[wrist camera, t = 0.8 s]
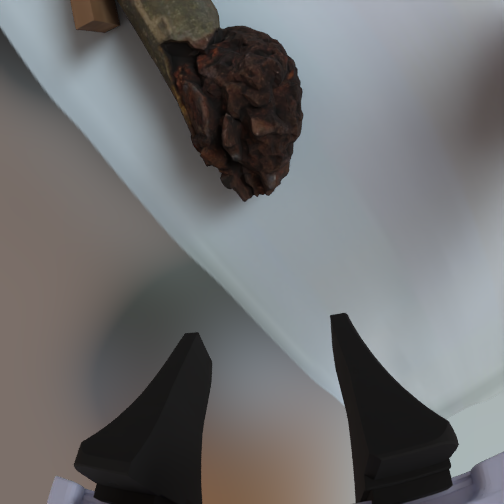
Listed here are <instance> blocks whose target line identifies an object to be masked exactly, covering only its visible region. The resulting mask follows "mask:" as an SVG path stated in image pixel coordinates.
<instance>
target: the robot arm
mask: <svg viewBox="0 0 504 504" xmlns="http://www.w3.org/2000/svg"><path fill="white" fill-rule="evenodd" d="M330 319H331V333H332V348H333V354H334V361H335V368H336V372H337V376H338V380H339V384H340V388H341V392H342V396H343V400H344V404H345V408H346V412H347V418H348V423H349V431H350V440H351V449H352V459H353V469H354V481H355V496H356V503H355V504H504V452H502V453H500V454H497V455H495V456H493V457H491V458H489V459H486V460H484V461H482V462H480V463H478V464H477V465H475V466H474V467H473V468H472V469H471V471H469V472H466V473H464V474H461V475H458V476H456V477H453V478H451V475H450V471H449V469H450V468H451V463H450V460H449V458H450V457H451V456H452V454H453V453H454V451H456V449H457V447H458V445H459V444H458V440H457V437H456V434H455V432H454V430H453V428H452V426H451V425H450V423H449V421H447V420H446V419H444V418H443V417H441V416H439V415H438V414H436V413H435V412H433V411H432V410H430V409H429V408H428V407H426V406H425V405H424V404H422V403H421V402H420V401H419V400H417V399H416V398H415V397H414V396H413V395H411V394H410V393H409V392H408V391H407V390H405V389H404V388H403V387H402V386H401V385H400V384H399V383H398V382H397V381H396V380H395V379H394V378H393V377H392V376H391V375H390V374H389V373H388V372H387V371H386V369H385V368H384V367H383V366H382V365H381V364H380V362H379V361H378V360H377V359H376V358H375V356H374V355H373V354H372V352H371V351H370V350H369V348H368V347H367V346H366V344H365V343H364V342H363V340H362V339H361V337H360V336H359V334H358V332H357V331H356V329H355V328H354V326H353V324H352V322H351V320H350V319H349V317H348V314H346V313H341V314H335V315H330ZM211 377H212V361H211V359H210V357H209V354H208V352H207V350H206V348H205V346H204V344H203V342H202V340H201V337H200V335H199V333H198V332H196V333H185V334H184V336H183V337H182V339H181V340H180V342H179V343H178V345H177V346H176V348H175V349H174V351H173V352H172V354H171V355H170V357H169V358H168V360H167V361H166V362H165V364H164V365H163V367H162V368H161V370H160V371H159V372H158V374H157V375H156V376H155V378H154V379H153V380H152V381H151V383H150V384H149V385H148V387H147V388H146V389H145V390H144V391H143V393H142V394H141V395H140V396H139V397H138V398H137V399H136V400H135V401H134V402H133V403H132V404H131V405H130V406H129V407H128V408H127V409H126V410H125V411H124V412H123V413H121V414H120V415H119V416H118V417H117V418H116V419H115V420H113V421H112V422H111V423H110V424H108V425H107V426H106V427H104V428H103V429H102V430H100V431H99V432H97V433H96V434H94V435H92V436H91V437H90V438H88V439H86V440H84V441H83V442H82V443H81V445H80V448H79V451H78V454H77V457H76V460H75V463H74V467H75V469H76V470H77V471H78V472H80V473H81V474H83V475H84V476H86V477H87V478H89V479H90V480H92V481H93V482H95V483H97V485H96V488H95V491H92V490H88V489H85V488H84V487H83V486H81V485H79V484H77V483H75V482H73V481H70V480H67V479H64V478H61V477H58V476H56V477H55V479H54V482H53V485H52V488H51V491H50V494H49V497H48V501H47V504H202V493H201V450H202V433H203V425H204V419H205V414H206V409H207V404H208V398H209V393H210V387H211Z"/></svg>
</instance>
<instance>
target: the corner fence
mask: <svg viewBox="0 0 504 504" xmlns="http://www.w3.org/2000/svg"><path fill="white" fill-rule="evenodd" d="M70 1H71V7H72V12H73V17H74V22H75V26H76V30H86V31H94V32H102V33H105V32H107V31H109V30H111V29H114V28H116V27H118V26H120V22H119V18H118V13H117V9H116V4H115V0H70Z"/></svg>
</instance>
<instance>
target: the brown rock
mask: <svg viewBox="0 0 504 504" xmlns="http://www.w3.org/2000/svg"><path fill="white" fill-rule="evenodd" d="M117 1H118V3H119V5H120V6H121V8H122V9H123V11H124V13H125V14H126V16H127V17H128V19H129V20H130V22H131V24H132V25H133V27H134V29H135V30H136V32H137V34H138V35H139V37H140V39H141V41H142V42H143V44H144V46H145V47H146V49H147V51H148V52H149V54H150V56H151V57H152V59H153V60H154V62H155V64H156V65H157V67H158V69H159V71H160V72H161V74H162V76H163V78H164V79H165V81H166V83H167V84H168V86H169V88H170V90H171V91H172V93H173V95H174V97H175V98H176V100H177V102H178V104H179V107H180V109H181V112H182V115H183V116H184V119H185V121H186V123H187V126H188V128H189V130H190V132H191V140H192V143H193V145H194V147H195V148H196V150H197V151H198V152H200V153H201V155H200V156H201V157H202V158H203V160H204V162H205V164H206V166H207V167H208V166H210V165H213V166H214V167H216V168H218V169H219V172H221V173H222V174H221V177H220V179H221V181H222V183H223V185H224V186H225V187H226V188H228V189H233V190H234V191H236V192H237V194H238V195H239V196H240V197H241V199H242V200H243V201H244V202H246V201H247V200H248V199H249V198H251V197H252V196H253V195H255V196H257V197H258V195H259V194H261V195H264V194H266V195H268V196H269V195H270V194H271V193H272V192H273V191H274V190H275V188H276V187H277V186H278V185H280V184H281V183H280V182H281V180H282V179H283V178H284V177H285V176H287V174H288V172H289V164H290V159H291V156H292V154H293V143H294V142H295V141H296V140H297V138H298V137H299V136H300V133H301V127H302V119H303V113H302V110H301V98H302V88H301V87H300V80H299V78H298V76H297V68H296V67H295V66H296V65H295V62H294V60H293V59H292V58H290V57H289V56H288V55H287V53H286V51H285V49H284V48H283V46H282V44H280V43H279V42H278V40H276V39H272V38H271V37H270V36H269V35H268V34H266V33H263V32H260V31H256V30H254V29H251V28H249V27H246V26H233V27H227V28H225V29H222V28H220V24H219V15H218V12H217V9H216V8H215V6H214V4H213V3H212V1H211V0H117Z"/></svg>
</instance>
